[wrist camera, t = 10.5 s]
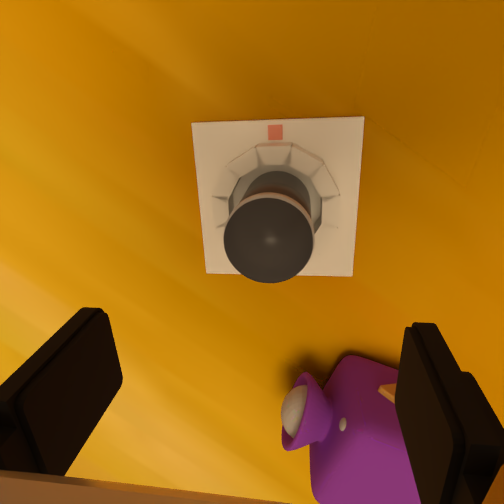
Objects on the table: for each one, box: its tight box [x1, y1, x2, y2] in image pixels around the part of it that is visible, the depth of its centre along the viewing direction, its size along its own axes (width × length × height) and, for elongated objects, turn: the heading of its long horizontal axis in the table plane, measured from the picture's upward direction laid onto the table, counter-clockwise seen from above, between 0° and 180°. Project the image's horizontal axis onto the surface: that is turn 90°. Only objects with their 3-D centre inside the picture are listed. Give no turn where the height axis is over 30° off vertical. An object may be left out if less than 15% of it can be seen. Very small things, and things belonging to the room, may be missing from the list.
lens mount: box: [191, 116, 365, 276], centre depth 27 cm, size 12×12×3 cm
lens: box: [223, 171, 315, 283], centre depth 24 cm, size 5×5×8 cm
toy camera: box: [281, 355, 421, 504], centre depth 30 cm, size 11×14×10 cm
